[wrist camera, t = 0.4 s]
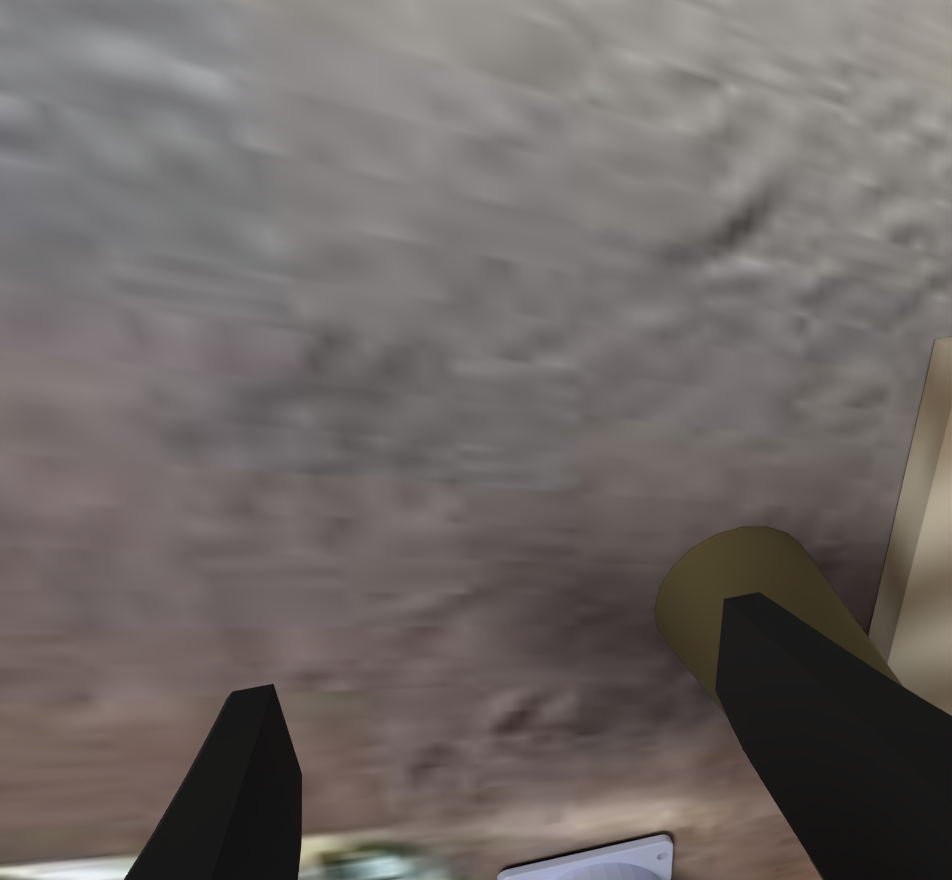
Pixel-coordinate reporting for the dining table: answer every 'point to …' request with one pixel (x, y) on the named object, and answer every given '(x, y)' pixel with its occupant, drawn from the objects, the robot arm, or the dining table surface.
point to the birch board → (922, 551)
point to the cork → (745, 572)
